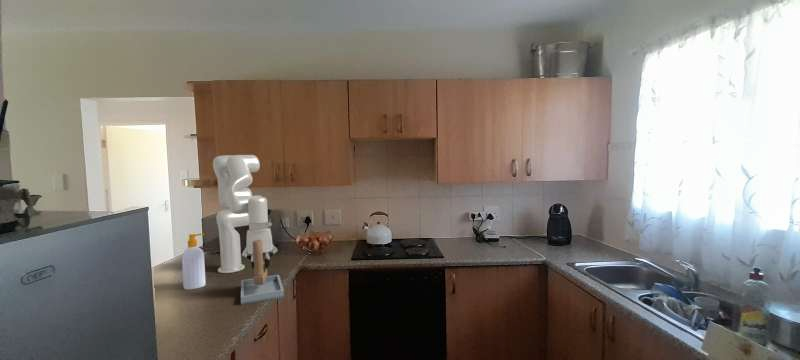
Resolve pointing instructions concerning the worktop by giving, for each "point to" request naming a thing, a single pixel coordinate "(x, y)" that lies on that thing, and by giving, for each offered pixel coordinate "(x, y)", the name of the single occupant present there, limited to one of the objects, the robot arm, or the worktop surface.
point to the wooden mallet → (259, 263)
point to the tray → (261, 290)
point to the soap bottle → (193, 265)
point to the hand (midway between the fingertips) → (260, 268)
